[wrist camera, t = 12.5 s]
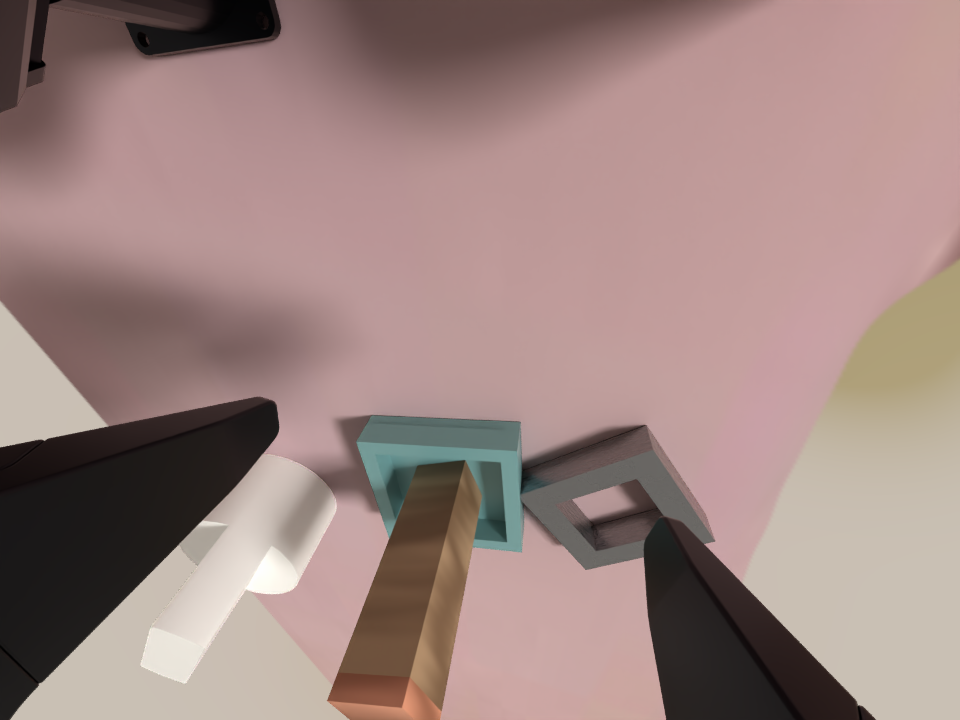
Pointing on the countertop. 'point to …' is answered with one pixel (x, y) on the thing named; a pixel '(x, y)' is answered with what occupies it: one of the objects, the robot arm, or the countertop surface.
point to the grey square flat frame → (605, 468)
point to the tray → (421, 441)
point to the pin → (413, 603)
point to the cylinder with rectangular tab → (241, 558)
